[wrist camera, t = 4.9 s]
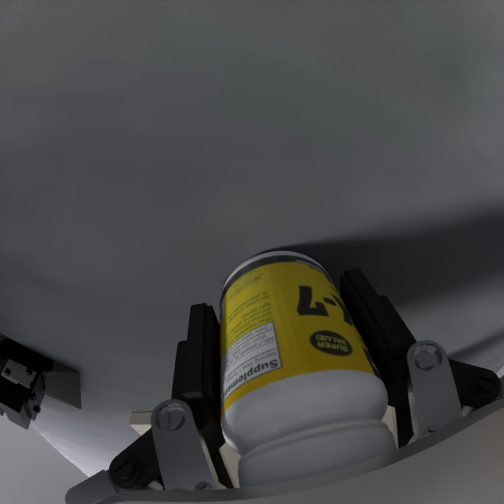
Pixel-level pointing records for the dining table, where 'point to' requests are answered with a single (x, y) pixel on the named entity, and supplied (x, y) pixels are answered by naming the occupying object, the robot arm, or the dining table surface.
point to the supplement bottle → (295, 374)
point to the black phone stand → (33, 382)
